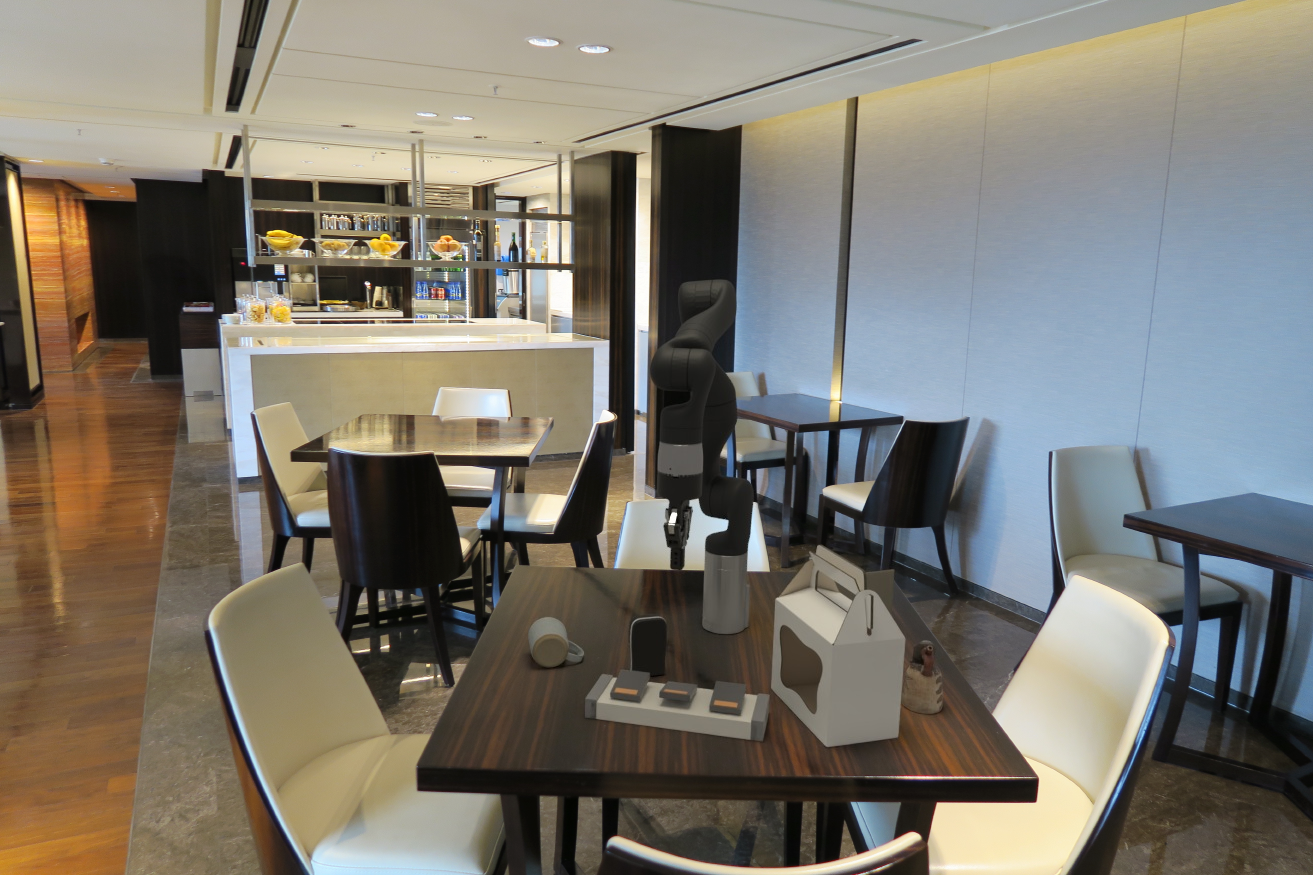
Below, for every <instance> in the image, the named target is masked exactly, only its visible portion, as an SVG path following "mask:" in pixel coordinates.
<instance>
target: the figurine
mask: <svg viewBox="0 0 1313 875" xmlns="http://www.w3.org/2000/svg"><path fill="white" fill-rule="evenodd" d="M936 652H937V648H936V645H935V643H933V641H930V640H923V639H922V641H918V642H917V643H915V644H914V645H913V646H912V656H911V657H912V659H910V660H909V663H910V664H909V665H908V666H907V667H906V668H905V670H904V673H903V680H902V694H901V705H902V706H903V707H905V709H907V710H910V711H911V712H914V713H918V714H924V715H933V714H938V713H940V712H941V711H942V709H943V707H944V706H943V705H944V695H943V675H942V672H941V670H940V668H939V667H938V666H937V665H936V664H935V656H936Z"/></svg>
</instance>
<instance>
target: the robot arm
mask: <svg viewBox="0 0 1313 875" xmlns="http://www.w3.org/2000/svg"><path fill="white" fill-rule="evenodd" d="M677 294H678V295H677V305H678V314H679V319H680V324H681V325H680V327H679V328H678V330H677V331H676V334H675V335H674V337H673V338H671V339H670V340H668V341H667V342H665V343H664V344H662V345H661V346H660V347H659V348H658V349H657V350H656V351H655V352H654V354H653V357H652V359H651V361H650V364H649V375H650V379H651V381H652V383H653V384H654V385H655V387H656V388H658V389H660V390H662V391H668V392H669V391H671V392H690V393H689V394H690V399H689V400H688V401H687V402H684V403H678V404H672V405H667V406H665V407H664V408H662V410H661V412H660V417H659V418H660V421H659V423H660V425H659V426H660V427H659V446H658V453H657V476H656V477H657V481H656V493H657V494H656V495H657V496H658V497H659V498H661V499H666V500H668V507H666V508H665V512H664V518H665V520H666V522H664V524H663V526H662V527H663V532H664V536H665V542H666V548H669V549H670V552H669V553H670V555H669V556H670V558H669V560H670V561H669V568H670V569H671V570H673V571H674V570H675V571H682V570H683V569H684V568H685V563H686V561H685V558H686V547H687V545H688V540H689V538H690V531H691V524H692V517H693V513H694V510H693V506H692V505H690V501H693V500H697V499H698V505H699V508H700V511H701V512H702V514H704V516H707V517H709V518H713V519H720V520H724V521H727V528H726V530H722V531H715V532H713V533H710V534H708V535H706V537H705V542H704V569H703V570H704V571H703V574H704V575H703V594H702V595H703V596H702V599H703V600H702V624H701V626H702V627H703V629H705V630H706V631H708V632H711V633H714V634H720V635H732V634H738V633H741V632H742V631H744V629H746V628H749V624H750V601H751V598H750V597H751V585H750V584H748V583H747V579H748V560H749V558H748V556H749V554H748V553H749V543H750V539H751V533H752V532H751V531H752V519H753V510H754V498H755V496H754V495H755V494H754V488H753V485H752V482H750V480H748V479H746V478H741V477H734V476H728V475H722V472H721V465H720V464H721V454H722V451H723V449H724V447H725V445H726V444H727V442H728V440H729V439H730V437H731V435H732V433H733V432H734V430H735V427H736V425H737V422H738V415H739V413H738V405H737V392H736V387H735V385H734V383H733V381H732V380H731V379H730V377H729V376H728V374H727V373H726V371H725V370H724V369H723V368H722V366H721V365H720V364H719V363H718V362H717V360H716V359H715V358H714V356H713V354H712V353H713V351H714V348H715V345H716V343H717V342H718V340H719V339H720V338H721V337H722V336H723V335H724V334H725V333H726V331H728V329H729V328H731V326H732V325H733V323H734V321H735V319H736V316H737V308H738V307H737V305H738V304H737V295H736V294H737V293H736V289H735V286H734V285H733V284H732V282H731V281H729V280H728V279H707V280H706V279H705V280H695V281H686V282H683V283H681V285H680V286H679V288H678V293H677Z"/></svg>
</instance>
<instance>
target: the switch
mask: <svg viewBox="0 0 1313 875" xmlns="http://www.w3.org/2000/svg"><path fill="white" fill-rule="evenodd" d="M616 678H617V679H616V681H615V683H614V685H613V688H612V690H611V692H610V698H617V699H624V700H632V701H641V698H642V696H643V693H644V691H645V688H646V686H647V683H648V682H650V681H649V680H650V678H651V676H650V673H648V672H640V671H631V670H630V669H620V671H619V673H618V675H617V677H616Z"/></svg>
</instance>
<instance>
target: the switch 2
mask: <svg viewBox="0 0 1313 875" xmlns="http://www.w3.org/2000/svg"><path fill="white" fill-rule="evenodd" d="M713 690H714V691H713V694H712V698H711V701H710V705H709V711H717V712H724V713H732V714H740V715H741V711H742V707H743V702H744V697H745V694H747V693H746V692H747V684H745V683H736V682H729V681H728V682H727V681H723V680H722V681H720V680H715V685H714V687H713Z"/></svg>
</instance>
